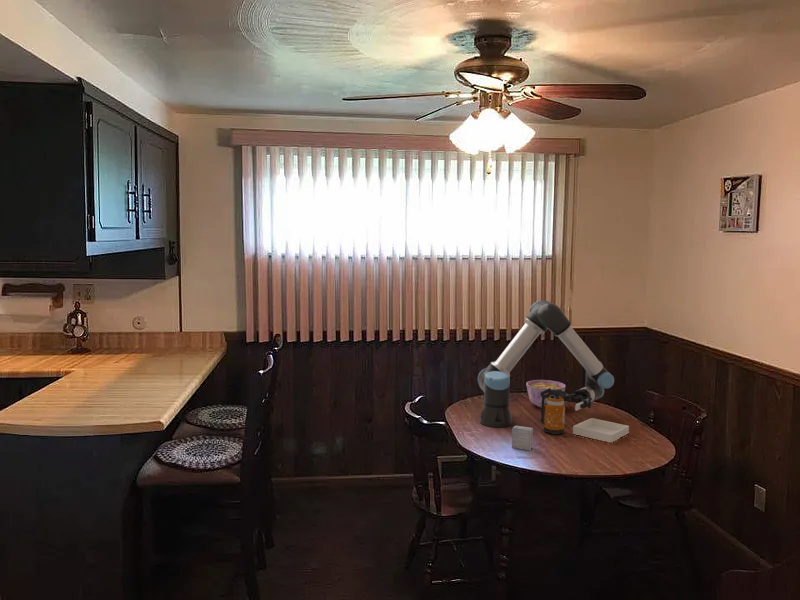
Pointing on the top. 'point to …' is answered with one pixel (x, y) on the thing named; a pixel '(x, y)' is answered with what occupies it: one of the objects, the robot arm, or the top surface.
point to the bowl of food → (541, 389)
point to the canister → (553, 411)
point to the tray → (600, 429)
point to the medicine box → (522, 437)
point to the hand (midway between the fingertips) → (562, 404)
